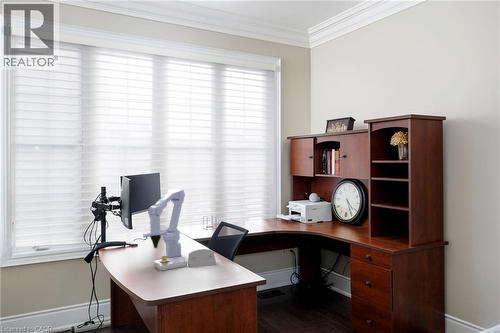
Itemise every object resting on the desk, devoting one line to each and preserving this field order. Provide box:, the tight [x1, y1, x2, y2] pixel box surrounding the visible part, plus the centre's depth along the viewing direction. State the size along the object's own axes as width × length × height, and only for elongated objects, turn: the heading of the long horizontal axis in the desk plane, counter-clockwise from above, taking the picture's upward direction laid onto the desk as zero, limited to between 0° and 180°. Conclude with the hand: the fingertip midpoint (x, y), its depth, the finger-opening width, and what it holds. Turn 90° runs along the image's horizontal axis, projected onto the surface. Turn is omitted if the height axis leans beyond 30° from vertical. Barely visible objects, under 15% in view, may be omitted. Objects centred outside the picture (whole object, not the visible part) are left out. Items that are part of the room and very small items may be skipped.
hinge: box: [187, 248, 217, 268], centre depth 221 cm, size 17×5×10 cm, turn 111°
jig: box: [153, 256, 188, 272], centre depth 217 cm, size 16×12×3 cm
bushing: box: [159, 255, 168, 264], centre depth 215 cm, size 4×4×6 cm
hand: (155, 247), depth 224 cm, fingers closed
